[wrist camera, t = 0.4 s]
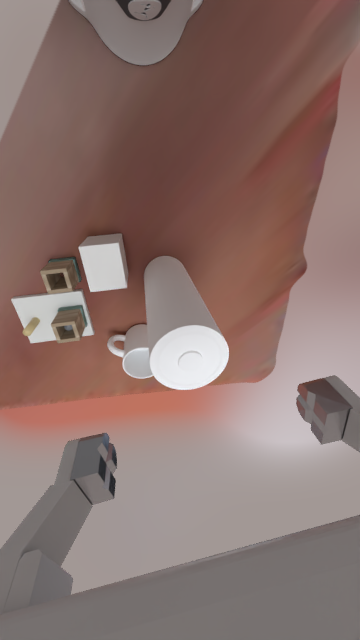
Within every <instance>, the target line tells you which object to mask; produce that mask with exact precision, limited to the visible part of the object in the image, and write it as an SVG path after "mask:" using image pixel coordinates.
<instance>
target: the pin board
mask: <svg viewBox="0 0 360 640" xmlns="http://www.w3.org/2000/svg"><path fill="white" fill-rule="evenodd" d="M11 300H12V302H13V304H14V307H15V309H16V311H17V313H18V316H19V318H20V320H21V322H22V325H23V327H24V330H23V334H24V335H25V336H28V338H29V340H30V342H31V343H36V342H44V341H51V340H56V337H55V334H54V332H53V329H52V327H51V323H52V321H53V320H54V318H55V316H56V315H57V313H58V311H57V310H58V309H59V308H60V307H68V306H76V305H82V306H83V309H84V313H85V316H86V320H87V323H88V325H87V327H85V329H84V332H83V335H82V336H88V335H94V328H93V325H92V321H91V318H90V314H89V311H88V307H87V303H86V300H85V296H84V293H83V289H77V290H73V291H71V292H62V293H54V294H48V293H43V294H34V295H26V296H17V297H13V298H12V299H11ZM64 328H65V329H66V330H68V331H70V330H72V328H73V327H72V325H66V326H64Z"/></svg>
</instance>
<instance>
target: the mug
mask: <svg viewBox="0 0 360 640" xmlns="http://www.w3.org/2000/svg"><path fill="white" fill-rule="evenodd" d="M118 340H119V341H124V350H121V349H118V348H117V347H115V346H114V344H113V343H114V342H115V341H118ZM107 346H108V348H109V350H110V351H111V352H112V353H113V354H115V355H117V356H120V357H123V363H122V364H123V368H124V370H125V372H126V373H127V374H128V375H130V376H132V377H134V378H141V379H142V378H148V377H151V376H153V373H152V371H151V368H150V359H149V344H148V330H147V325H145V324H139V325H135V326H133V327H131V328H130V329H129V330H128V331H127V333H126V335H114V336H112V337H110V338H109V340H108V342H107Z"/></svg>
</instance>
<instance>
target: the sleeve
mask: <svg viewBox="0 0 360 640" xmlns="http://www.w3.org/2000/svg"><path fill="white" fill-rule="evenodd" d="M48 262H49V263H48V264H47V265H46V266H45V267H44V268H43V269H42V270H41V271H40V272H41V275H42V278H43V281H44V284H45V286H46V289H47V292H48V294H54V293H62V292H71V291H73V290H74V289H75V287H76V285H77V284H78V282H81V280H82V279H81V276H80V272H79V268H78V265H77V261H76V258H75V257H69V258H60V259H50V260H49V261H48ZM60 273H63V274H64V277H61V275H60Z"/></svg>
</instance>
